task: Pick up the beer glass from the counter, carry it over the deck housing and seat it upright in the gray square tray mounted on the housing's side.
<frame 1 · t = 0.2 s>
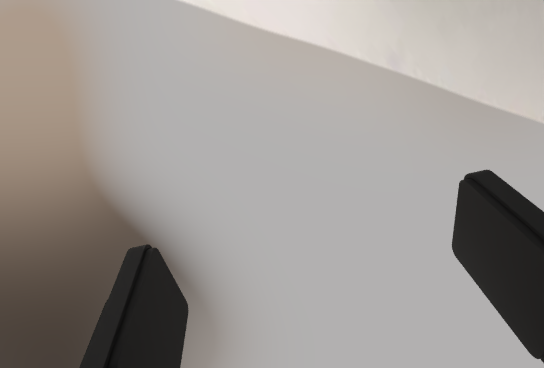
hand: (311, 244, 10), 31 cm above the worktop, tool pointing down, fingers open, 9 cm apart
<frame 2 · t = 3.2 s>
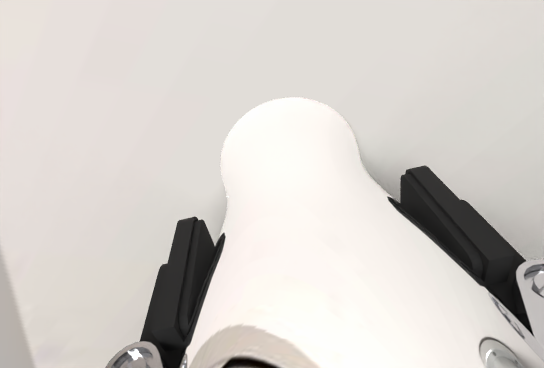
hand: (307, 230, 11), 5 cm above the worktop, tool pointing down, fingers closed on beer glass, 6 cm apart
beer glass: (288, 160, 15), on the worktop, touching gripper
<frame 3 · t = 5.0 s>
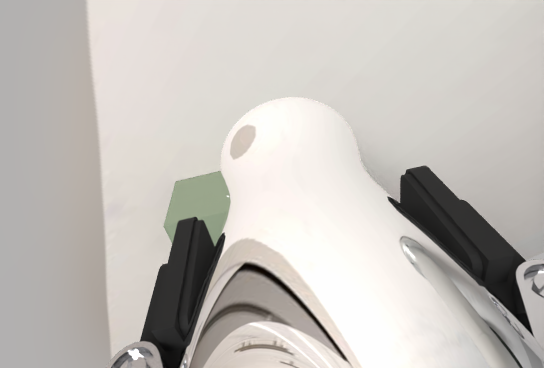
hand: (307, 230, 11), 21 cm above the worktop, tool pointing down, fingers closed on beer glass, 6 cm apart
deck housing: (256, 205, 35), on the worktop
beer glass: (288, 160, 15), point 16 cm above the worktop, touching gripper
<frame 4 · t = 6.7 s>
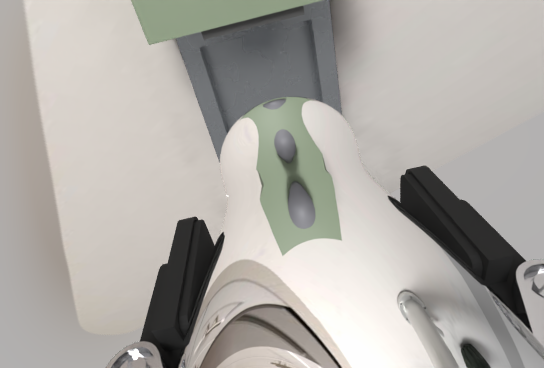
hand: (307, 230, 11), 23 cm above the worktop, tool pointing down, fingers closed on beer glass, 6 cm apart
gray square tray: (265, 80, 31), on the worktop
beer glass: (288, 160, 15), point 18 cm above the worktop, touching gripper
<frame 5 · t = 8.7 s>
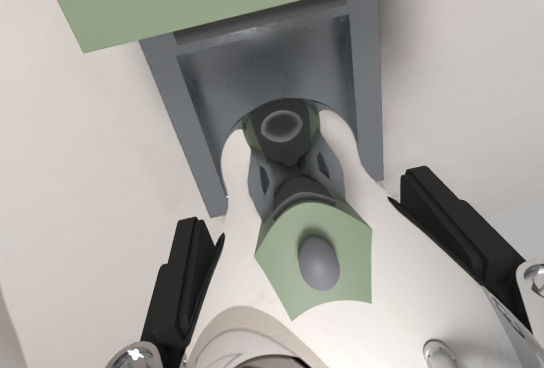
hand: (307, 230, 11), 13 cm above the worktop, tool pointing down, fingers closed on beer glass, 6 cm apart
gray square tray: (274, 100, 22), on the worktop
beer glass: (288, 160, 15), point 8 cm above the worktop, touching gripper
when the fingers open (7 cm above the worktop, at t = 10.4 s): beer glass drops 1 cm, resting on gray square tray.
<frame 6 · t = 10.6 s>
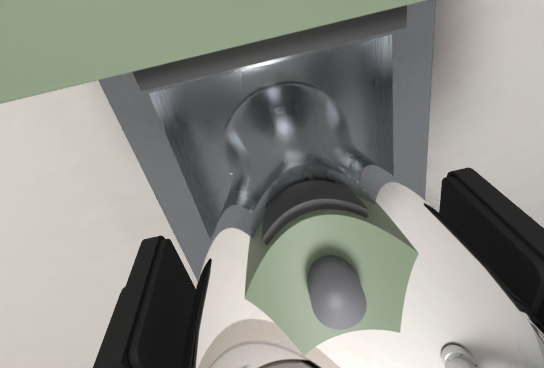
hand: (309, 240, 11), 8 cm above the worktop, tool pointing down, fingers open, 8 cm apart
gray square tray: (282, 140, 17), on the worktop
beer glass: (286, 144, 16), point 1 cm above the worktop, touching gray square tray
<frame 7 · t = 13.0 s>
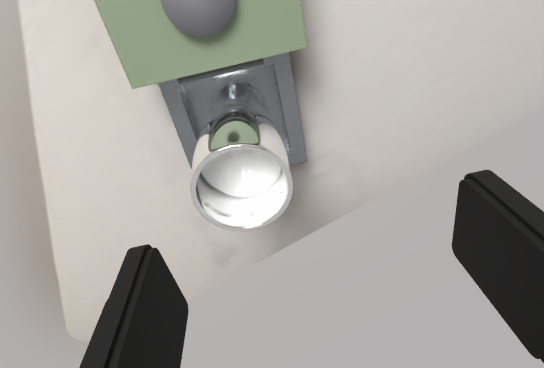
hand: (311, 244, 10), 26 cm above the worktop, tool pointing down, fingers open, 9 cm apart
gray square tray: (237, 111, 35), on the worktop
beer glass: (238, 112, 34), point 1 cm above the worktop, touching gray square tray
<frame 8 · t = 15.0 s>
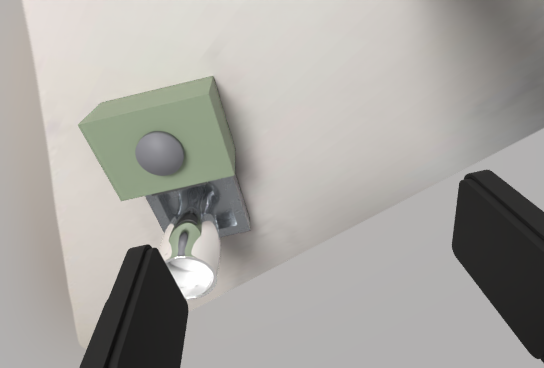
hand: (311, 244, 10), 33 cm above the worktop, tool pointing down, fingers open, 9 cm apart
deck housing: (172, 127, 43), on the worktop
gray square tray: (199, 195, 49), on the worktop
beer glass: (199, 197, 48), point 1 cm above the worktop, touching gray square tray
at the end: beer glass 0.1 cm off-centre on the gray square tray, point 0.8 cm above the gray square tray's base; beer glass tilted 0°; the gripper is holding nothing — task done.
